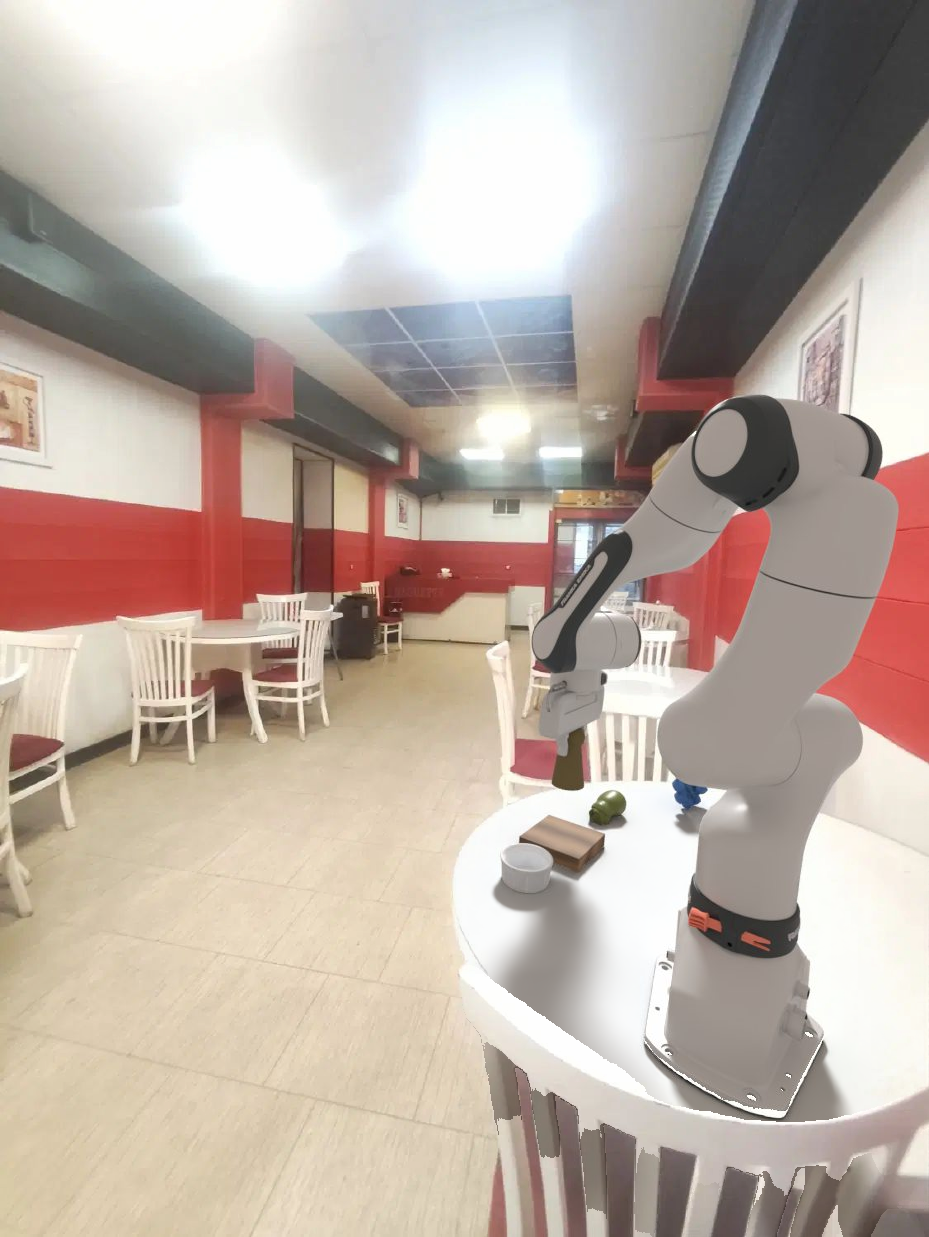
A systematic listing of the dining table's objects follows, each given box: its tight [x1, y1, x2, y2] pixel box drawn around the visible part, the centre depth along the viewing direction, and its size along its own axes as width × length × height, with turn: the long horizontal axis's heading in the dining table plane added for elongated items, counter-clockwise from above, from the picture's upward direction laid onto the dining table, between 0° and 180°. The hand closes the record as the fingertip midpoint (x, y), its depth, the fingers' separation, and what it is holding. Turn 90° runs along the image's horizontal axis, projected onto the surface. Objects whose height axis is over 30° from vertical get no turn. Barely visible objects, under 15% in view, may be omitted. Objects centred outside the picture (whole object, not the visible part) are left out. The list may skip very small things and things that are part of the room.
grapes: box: [671, 778, 709, 810], centre depth 122 cm, size 12×7×12 cm, turn 126°
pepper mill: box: [550, 728, 586, 792], centre depth 101 cm, size 6×6×11 cm
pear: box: [588, 789, 627, 825], centre depth 117 cm, size 6×5×10 cm
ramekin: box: [499, 842, 554, 894], centre depth 91 cm, size 9×9×4 cm
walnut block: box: [518, 814, 606, 873], centre depth 103 cm, size 12×12×2 cm
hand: (569, 751), depth 101 cm, fingers closed on pepper mill, 4 cm apart
